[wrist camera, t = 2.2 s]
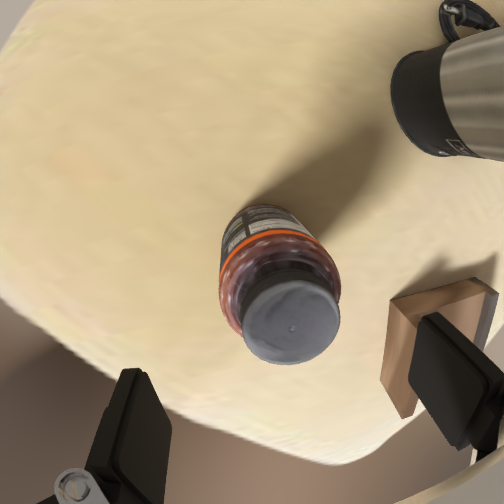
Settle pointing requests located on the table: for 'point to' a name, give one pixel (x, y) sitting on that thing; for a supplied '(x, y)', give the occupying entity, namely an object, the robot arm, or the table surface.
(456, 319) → the shelf
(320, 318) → the supplement bottle
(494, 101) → the milk frother
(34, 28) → the table surface
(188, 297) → the table surface
